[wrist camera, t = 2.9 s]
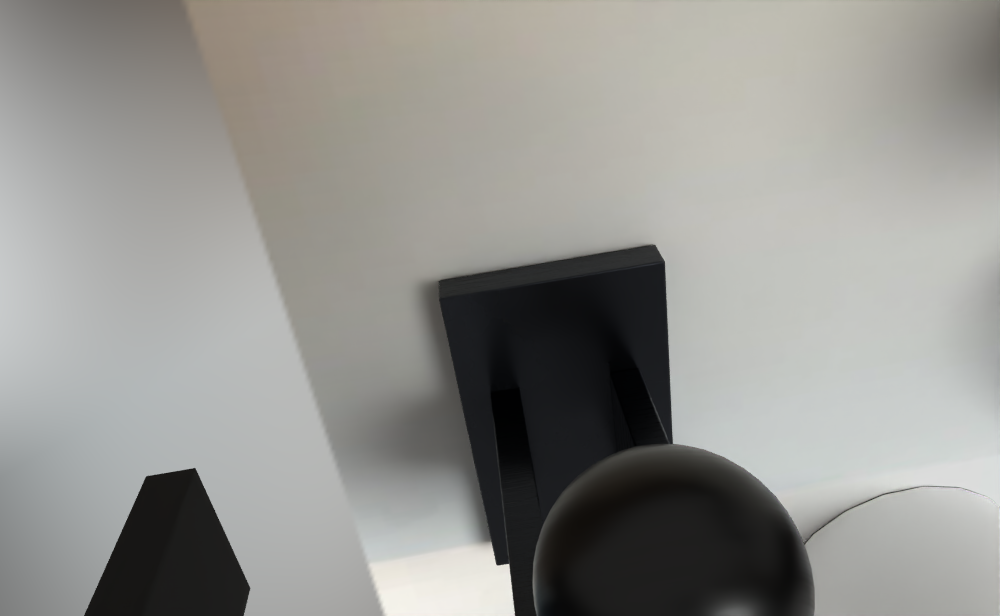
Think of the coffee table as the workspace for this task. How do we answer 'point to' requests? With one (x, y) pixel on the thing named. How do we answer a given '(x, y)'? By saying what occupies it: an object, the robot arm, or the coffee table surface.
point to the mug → (910, 556)
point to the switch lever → (670, 541)
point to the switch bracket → (556, 382)
